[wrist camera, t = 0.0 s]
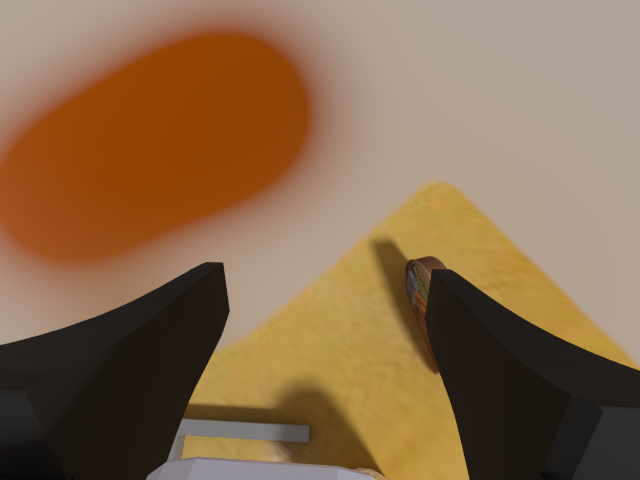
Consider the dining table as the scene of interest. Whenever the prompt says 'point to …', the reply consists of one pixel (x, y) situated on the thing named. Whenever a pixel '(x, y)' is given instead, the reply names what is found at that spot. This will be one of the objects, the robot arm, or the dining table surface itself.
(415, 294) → the tin
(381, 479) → the white cup
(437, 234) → the dining table surface
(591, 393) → the robot arm
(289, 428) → the gray u-shaped frame
